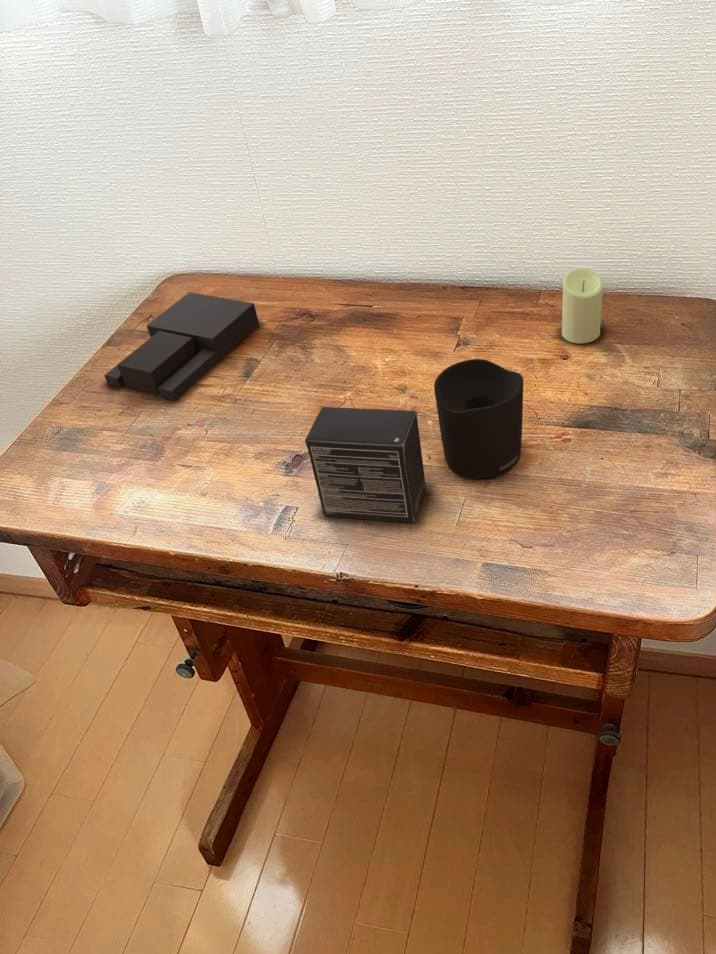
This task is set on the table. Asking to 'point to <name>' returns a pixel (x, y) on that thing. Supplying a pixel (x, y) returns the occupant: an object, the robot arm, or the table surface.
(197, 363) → the base pad
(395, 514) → the small box
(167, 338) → the black block
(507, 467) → the pen holder
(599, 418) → the table surface
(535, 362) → the table surface
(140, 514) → the table surface
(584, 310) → the candle
